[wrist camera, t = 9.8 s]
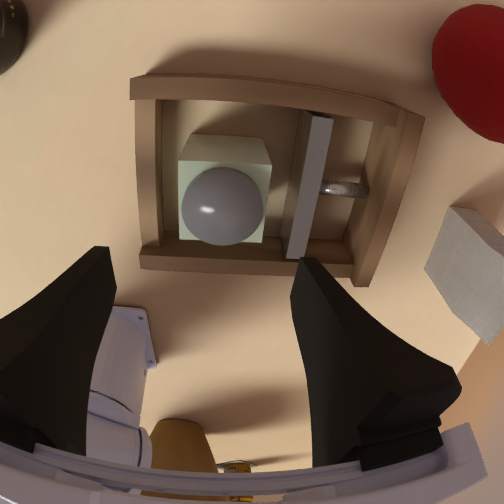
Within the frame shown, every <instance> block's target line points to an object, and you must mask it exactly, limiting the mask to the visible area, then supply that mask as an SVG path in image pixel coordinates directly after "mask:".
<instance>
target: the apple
mask: <svg viewBox="0 0 504 504" xmlns="http://www.w3.org/2000/svg"><path fill="white" fill-rule="evenodd" d="M432 68H433V72H434V76H435V80H436V84H437V87H438V89H439V91H440V94H441V96H442V98H443V99H444V100H445V102H446V103H447V104H448V106H449V107H450V108H451V110H452V111H453V112H454V114H455V115H456V116H457V117H458V118H459V119H460V120H461V121H462V122H463V123H465V124H466V125H467V126H468V127H469V128H470V129H472V130H473V131H474V132H476V133H477V134H479V135H481V136H482V137H484V138H486V139H488V140H491V141H495V142H499V143H503V144H504V9H503V8H500V7H497V6H494V5H483V4H475V5H470V6H467V7H465V8H462V9H459V10H457V11H456V12H454V13H453V14H452V15H450V16H449V18H448V19H447V20H446V21H445V22H444V24H443V25H442V26H441V27H440V29H439V31H438V33H437V35H436V36H435V39H434V41H433V49H432Z"/></svg>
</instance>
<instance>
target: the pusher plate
mask: <svg viewBox="0 0 504 504" xmlns="http://www.w3.org/2000/svg"><path fill="white" fill-rule="evenodd" d="M333 122H334V119H333V118H331V117H330V116H328V115H327V114H325V113H324V112H319V111H312V110H306V109H301V111H300V118H299V124H298V130H297V136H296V142H295V148H294V155H293V161H292V166H291V172H290V178H289V184H288V190H287V196H286V201H285V207H284V213H283V218H282V224H281V229H280V237H281V241H282V245H283V249H284V253H285V257H286V258H288V259H300V257H304V254H305V250H306V246H307V242H308V238H309V234H310V230H311V225H312V221H313V217H314V213H315V208H316V204H317V199H318V195H319V194H325V195H334V196H343V197H351V198H360V199H365V198H366V196H367V193H368V188H367V185H366V184H360V183H352V182H345V181H337V180H329V179H322V176H323V172H324V167H325V162H326V157H327V153H328V148H329V143H330V138H331V132H332V127H333Z"/></svg>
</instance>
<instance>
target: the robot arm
mask: <svg viewBox="0 0 504 504" xmlns="http://www.w3.org/2000/svg"><path fill="white" fill-rule="evenodd" d="M116 289H117V286H116V281H115V276H114V272H113V266H112V261H111V256H110V250H109V247H104V246H94V247H93V248H91V249H90V250H89V251H88V252H86V253H85V254H84V255H83V256H82V257H81V258H80V259H78V260H77V261H76V262H75V263H74V264H73V265H72V266H70V267H69V268H68V269H67V270H66V271H65V272H64V273H63V274H61V275H60V276H59V277H58V278H57V279H55V280H54V281H53V282H52V283H51V284H49V285H48V286H47V287H46V288H45V289H43V290H42V291H41V292H40V293H38V294H37V295H36V296H35V297H33V298H32V299H30V300H29V301H28V302H26V303H25V304H23V305H22V306H21V307H19V308H18V309H16V310H14V311H13V312H11V313H10V314H8V315H6V316H5V317H3V318H2V319H0V498H2V499H4V500H6V501H8V502H10V503H12V504H437V503H439V502H441V501H443V500H445V499H447V498H449V497H451V496H453V495H455V494H457V493H459V492H461V491H463V490H465V489H467V488H469V487H470V486H473V485H474V484H476V483H478V482H480V481H482V480H483V479H485V478H486V477H487V476H488V474H487V471H486V468H485V465H484V462H483V459H482V456H481V453H480V450H479V447H478V445H477V442H476V439H475V437H474V434H473V431H472V429H471V426H470V424H469V423H464V424H462V425H459V426H456V427H454V428H451V429H449V430H446V431H444V432H442V433H441V434H440V432H439V430H438V427H439V426H440V425H441V420H440V417H439V415H440V414H442V413H443V412H444V411H445V410H446V409H447V408H448V407H449V406H450V405H451V404H453V403H454V401H455V400H456V399H457V398H458V397H459V395H460V393H461V390H462V387H461V385H460V382H459V380H458V378H457V376H456V374H455V372H454V370H453V368H452V367H451V366H449V365H447V364H445V363H443V362H441V361H439V360H437V359H434V358H432V357H430V356H429V355H427V354H425V353H423V352H422V351H420V350H418V349H416V348H415V347H413V346H411V345H410V344H408V343H407V342H405V341H404V340H402V339H401V338H399V337H398V336H397V335H395V334H394V333H392V332H391V331H390V330H388V329H387V328H386V327H384V326H383V325H382V324H381V323H380V322H378V321H377V320H376V319H375V318H374V317H372V316H371V315H370V314H369V313H368V312H367V311H366V310H365V309H364V308H362V307H361V306H360V305H359V304H358V303H357V302H356V301H355V300H354V299H353V298H352V297H351V296H350V295H349V294H348V293H347V292H346V290H345V289H344V288H343V287H342V286H341V285H340V284H339V283H338V282H337V281H336V280H335V278H334V277H333V276H332V275H331V274H330V273H329V272H328V271H327V269H326V268H325V267H324V266H323V265H322V264H321V263H320V262H319V261H318V260H317V259H316V258H315V257H300V259H299V263H298V267H297V271H296V275H295V279H294V283H293V287H292V291H291V295H290V301H291V311H292V318H293V323H294V327H295V331H296V335H297V339H298V343H299V347H300V351H301V355H302V359H303V363H304V368H305V373H306V378H307V386H308V395H309V404H310V415H311V431H312V461H313V462H312V468H307V469H298V470H288V471H275V472H256V473H204V472H185V471H173V470H162V469H153V468H150V467H151V462H152V443H151V439H150V437H149V435H148V433H147V431H146V429H145V428H143V427H139V424H140V413H141V409H142V402H143V395H144V388H145V382H146V375H147V369H156V367H157V363H156V359H155V354H154V349H153V345H152V340H151V335H150V330H149V325H148V319H147V314H146V311H145V310H144V309H142V308H132V307H120V306H113V303H114V299H115V294H116ZM83 478H84V479H83ZM86 479H87V480H86ZM89 480H90V481H89ZM93 481H94V482H93ZM96 482H97V483H96ZM99 483H100V484H99ZM141 490H145V491H153V492H161V493H171V494H183V495H200V496H254V495H271V494H284V493H288V494H285V495H284V496H283V500H281V501H279V502H225V501H194V500H179V499H168V498H158V497H150V496H143V495H140V494H141Z"/></svg>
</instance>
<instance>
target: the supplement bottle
mask: <svg viewBox="0 0 504 504" xmlns="http://www.w3.org/2000/svg"><path fill="white" fill-rule="evenodd" d="M27 30H28V14H27V10H26V7H25V5H24V3H23V2H22V1H21V0H0V76H1V75H2V74H3V73H5V72H6V71H7V70H8V69H9V68H10V67H11V65H12V64H13V63H14V62H15V60H16V59H17V57H18V55H19V54H20V52H21V50H22V47H23V45H24V42H25V39H26V35H27Z"/></svg>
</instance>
